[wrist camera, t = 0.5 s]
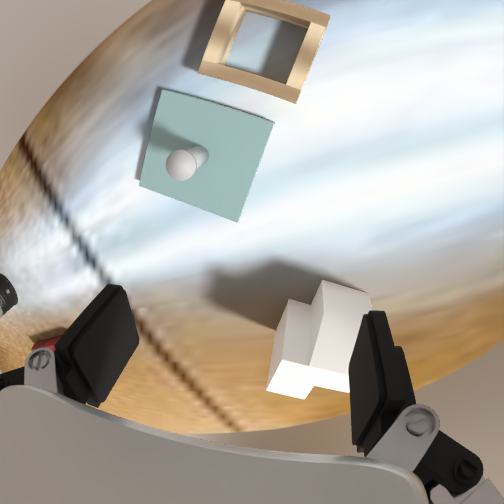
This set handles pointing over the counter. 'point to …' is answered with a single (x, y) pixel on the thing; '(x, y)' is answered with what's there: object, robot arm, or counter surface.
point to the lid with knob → (204, 153)
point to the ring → (271, 5)
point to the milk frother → (6, 296)
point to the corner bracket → (317, 341)
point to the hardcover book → (46, 343)
